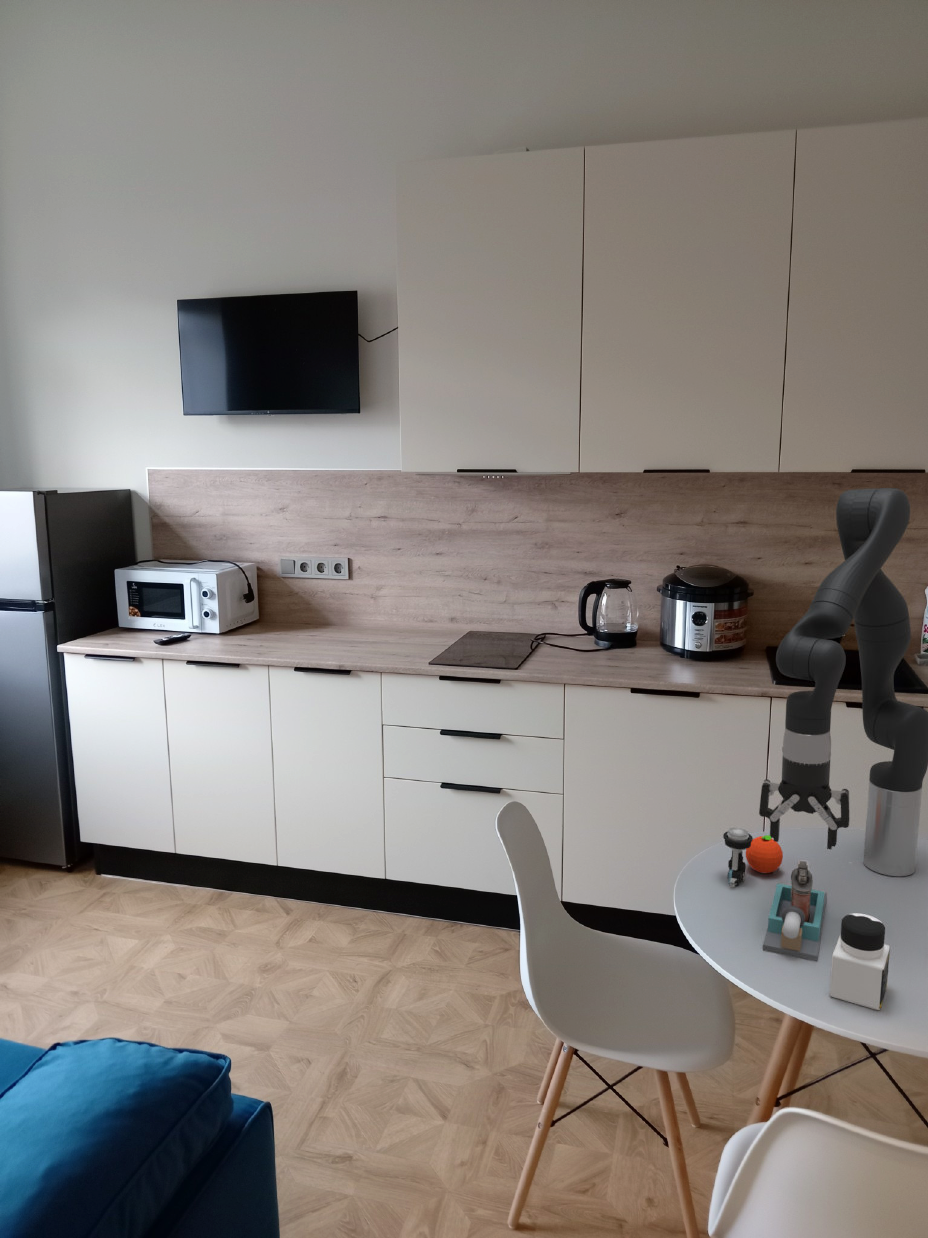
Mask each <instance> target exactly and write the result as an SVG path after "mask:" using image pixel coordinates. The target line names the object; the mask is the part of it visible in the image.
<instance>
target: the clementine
mask: <svg viewBox="0 0 928 1238" xmlns="http://www.w3.org/2000/svg"><path fill="white" fill-rule="evenodd" d="M783 858H784V853H783V849H782V847H781V845H780V844H779V843H778V842H775V841H774V838H771V836H770V834H769V835H768V834H767V835H763V836H762V835H761V836H757V837H755V838H753V841H752V842H751V847H749V848H747V849H745V859H746V861H747V863H748V865H749V866H750V867H751V868H752V869H753V870H755V871H756V872H758V873H760V874H761V873H762V874H771V873H772V872H775V871H776V870H778V869H779V868H780V867H781V865H782V862H783Z"/></svg>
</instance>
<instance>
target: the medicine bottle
mask: <svg viewBox="0 0 928 1238" xmlns="http://www.w3.org/2000/svg"><path fill="white" fill-rule="evenodd" d="M840 924H841V926H840V934H839V936H838V939H837V942H836V944H835V947H834V949H833V953H832V956H831V970H830V982H829V996H830V997H832V998H834V999H838V1000H842V1001H845V1002H848V1003H852V1004H856V1005H858V1006H862V1007H865V1008H869V1009H872V1010H876V1011H880V1010H881V1008H882V1005H883V1002H884V998H885V995H886V991H887V990H886V989H887V987H888V975H889V965H890V964H889V963H890V952H891V951H890V950H891V948H890V945H888V944H885V938H886V937H885V936H886V926H885V925H884V923H883V922H882V921H881V920H879V919H878V918H876V917H874V916H872V915H869V914H864V913H857V912H856V913H849V914H846V915H845V916H843V917H842V919H841V923H840Z"/></svg>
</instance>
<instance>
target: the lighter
mask: <svg viewBox="0 0 928 1238" xmlns="http://www.w3.org/2000/svg"><path fill="white" fill-rule="evenodd" d="M799 861H800V862H799ZM799 861H798V862H799V864H798V863H797V864H798V869H796V868H795V869H796V870H795V871H794V872H793V874H792V873H791V874H792V880H791V886H792V887H791V901H792V902H791V906H795V907H798V908H800V909H801V910H802V911H803V912H804V914H805V922H807V923H810V895H811V890H813V889H812V888H813V875H812V876H811V874H812V873H810V872H811V871H810V872H809V870H808V865H807V862H805V861H801V860H799Z"/></svg>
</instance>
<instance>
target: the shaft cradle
mask: <svg viewBox="0 0 928 1238" xmlns="http://www.w3.org/2000/svg"><path fill="white" fill-rule="evenodd" d="M800 861H805V862H807V865H808V870H809V872H810V873H811V868H812V866H811V865H812V864H811V863H810V862H809V861H808V860H805V859H804V860H803V859H801V860H799V861H798V862H797V865H796V868H794V869H793V870H791V871H792V872H791V874H790V879H791V880H792V874H793V872H794V871H795V870H796V869H798V864H799V862H800ZM811 876H812V877H813V874H812V873H811ZM791 887H792V885H788V884H782V883H776V888H775V891H774V895H773V899H772V904H771V908H770V911H769V914H768V921H767V922H768V923H767V924H768V925H767V929H766V933H765V936H764V941H763V944H762V951H764V952H770V953H775V954H780V955H783V956H789V957H794V958H799V959H803V960H807V961H813V962H818V960H819V959H818V958H819V952H820V951H819V950H820V946H821V945H820V944H821V938H822V932H821V931H823V924H824V917H825V916H824V915H825V911H826V903H827V895H828V894H827V893H826V892H825V891H823V890H816V889H815V890H814V889H812V890H811V895H810V923H807V922H805V914H804V912H803V911H802V910H801V909H800V908H798V907H795V906H791V902H792V901H791Z"/></svg>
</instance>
